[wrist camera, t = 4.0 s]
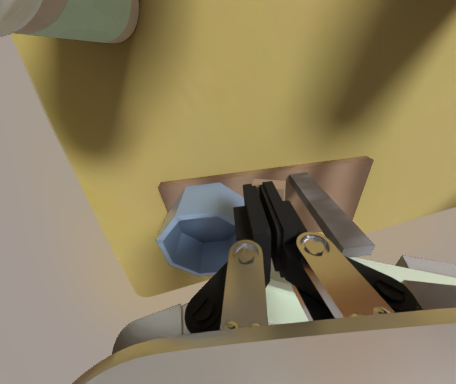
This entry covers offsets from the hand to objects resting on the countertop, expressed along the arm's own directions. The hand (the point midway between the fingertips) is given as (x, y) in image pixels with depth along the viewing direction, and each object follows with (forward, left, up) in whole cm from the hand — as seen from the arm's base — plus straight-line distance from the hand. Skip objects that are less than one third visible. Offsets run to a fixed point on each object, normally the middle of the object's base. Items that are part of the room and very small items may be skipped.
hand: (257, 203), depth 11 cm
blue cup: (+5, +9, -10) cm, 14 cm away
